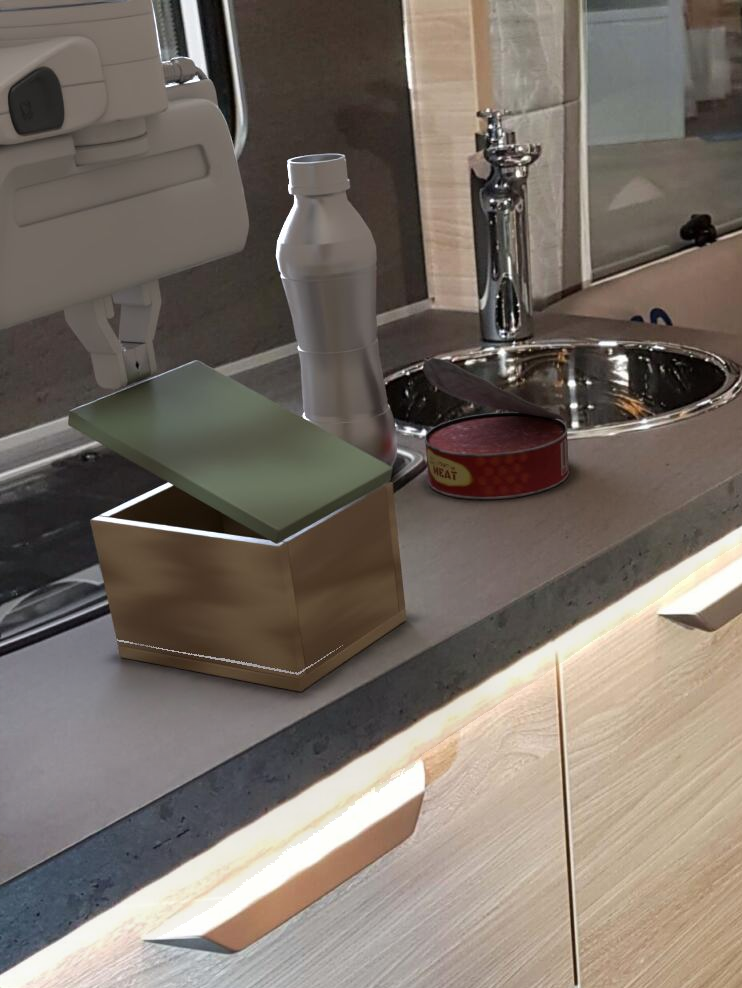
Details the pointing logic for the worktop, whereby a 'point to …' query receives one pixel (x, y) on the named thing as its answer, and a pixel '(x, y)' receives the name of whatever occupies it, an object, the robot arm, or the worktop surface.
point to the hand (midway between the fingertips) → (128, 382)
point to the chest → (249, 586)
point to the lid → (232, 449)
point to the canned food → (493, 441)
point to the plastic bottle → (335, 307)
